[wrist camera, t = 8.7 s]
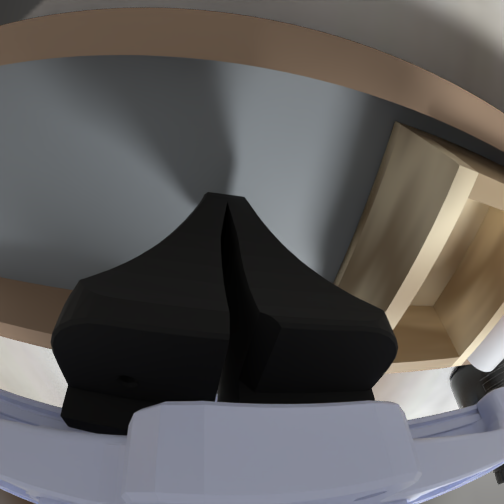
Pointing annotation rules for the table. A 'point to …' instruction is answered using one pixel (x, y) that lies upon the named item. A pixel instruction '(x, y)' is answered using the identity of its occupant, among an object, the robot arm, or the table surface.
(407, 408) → the table surface
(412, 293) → the crate
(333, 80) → the bay
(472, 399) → the supplement bottle
